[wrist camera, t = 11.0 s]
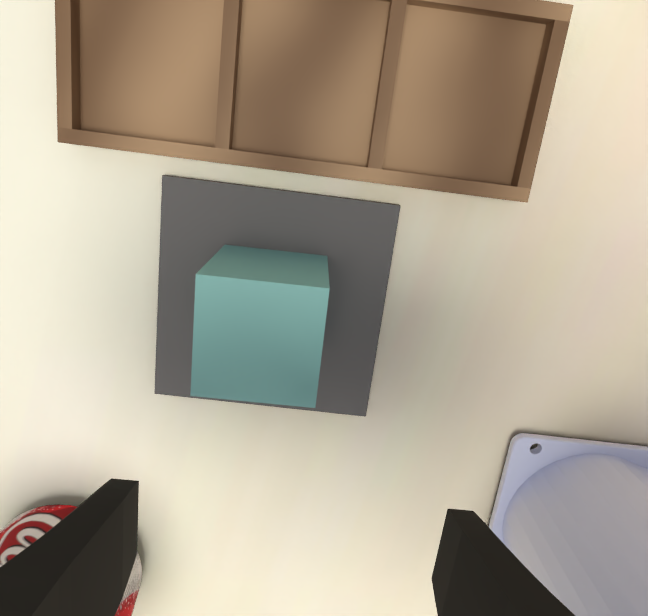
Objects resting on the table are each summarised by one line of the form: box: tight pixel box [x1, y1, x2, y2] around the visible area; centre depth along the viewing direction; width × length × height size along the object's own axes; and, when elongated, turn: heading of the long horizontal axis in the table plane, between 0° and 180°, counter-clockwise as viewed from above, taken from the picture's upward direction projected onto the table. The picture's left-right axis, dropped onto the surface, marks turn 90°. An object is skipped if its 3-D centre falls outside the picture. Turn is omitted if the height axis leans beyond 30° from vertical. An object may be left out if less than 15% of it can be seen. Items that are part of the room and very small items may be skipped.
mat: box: [155, 175, 400, 416], centre depth 21 cm, size 9×9×1 cm
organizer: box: [55, 0, 573, 202], centre depth 19 cm, size 17×6×1 cm, turn 83°
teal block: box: [190, 245, 330, 408], centre depth 19 cm, size 4×4×5 cm
